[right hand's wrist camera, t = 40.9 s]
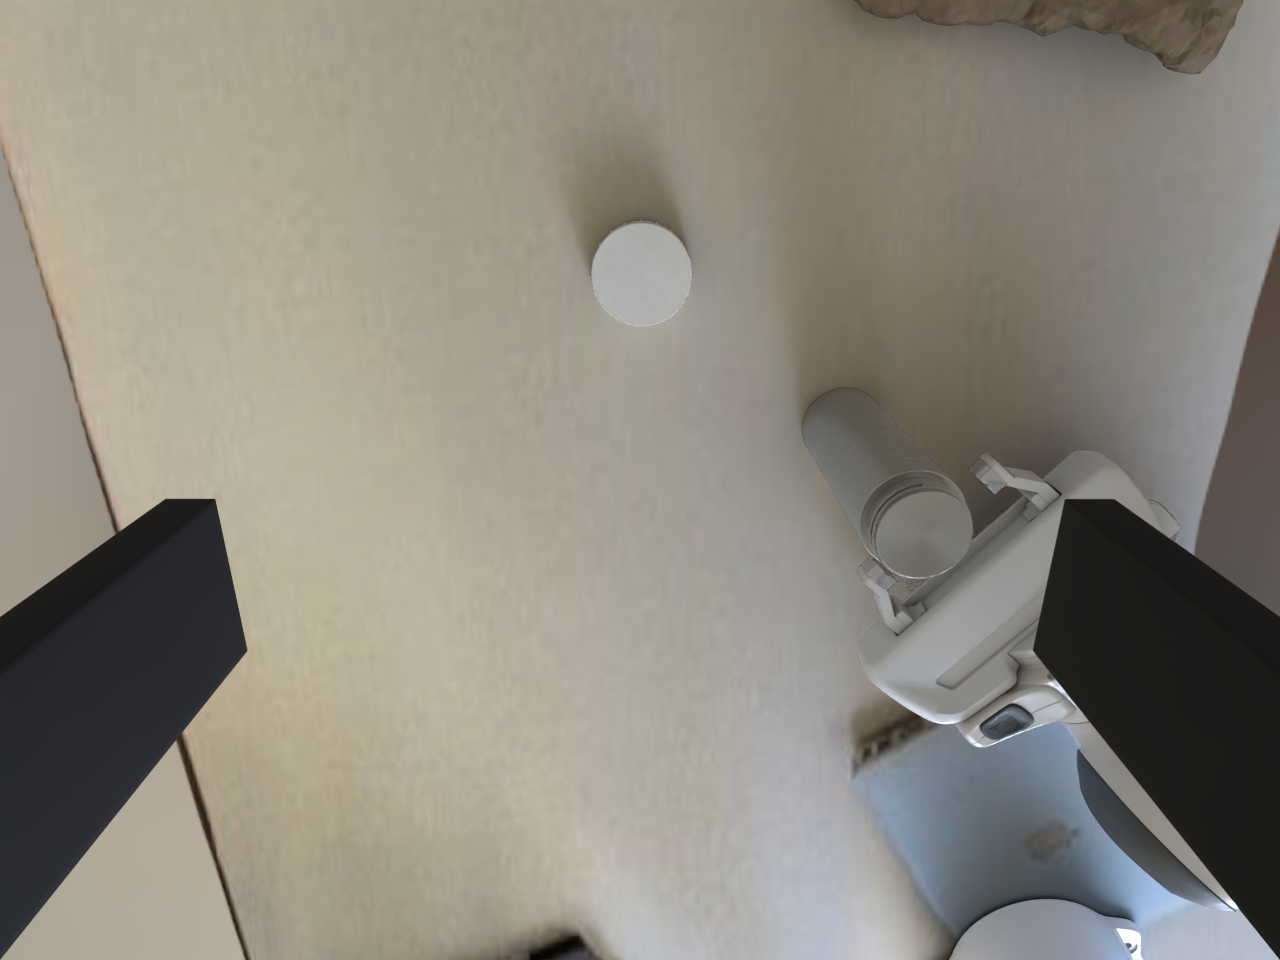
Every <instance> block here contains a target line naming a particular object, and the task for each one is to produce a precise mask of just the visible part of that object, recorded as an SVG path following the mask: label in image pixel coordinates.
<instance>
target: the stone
mask: <svg viewBox="0 0 1280 960" xmlns="http://www.w3.org/2000/svg"><path fill="white" fill-rule="evenodd" d="M854 1H858V3H859V5H860V7H861V8H862V9H863V10H865V11H867V12H869V13H871V14H873V15H875V16H876V17H881V18H896V19H897V18H899V17H902V16H904V15H907V14H911V13H916V14H917V15H918V16H919V17H920V18H921V19H922V20H923V21H927V22H931V23H935V24H938V25H948V26H952V25H960V24H974V25H990V24H993V23H994V22H996V21H1000V22H1002V21H1006V22H1010V23H1013V24H1017V25H1020V26H1021V27H1024V28H1026V29H1029V30H1032V31H1033V32H1035V33H1037V34H1038V35H1040V36H1045V35H1049V34H1052V33H1055V32H1058V31H1060V30H1062V29H1064V28H1066V27H1069V26H1072V25H1075V26H1077V27H1079V28H1082V29H1086V30H1094V31H1097V32H1099V33H1102V34H1108V33H1115V34H1123V36H1124V38H1125V41H1126V42H1127V43H1129V44H1131V45H1133V46H1135V47H1137V48H1139V49H1141V50H1145V51H1149V52H1151V53H1153V54H1155V55H1156V56H1157V58H1158V59H1159V61H1160V62H1162V63H1163V66H1164V67H1166V68H1167V69H1169V70H1172V71H1176V72H1181V73H1187V74H1199V73H1201V72H1202V70H1203V69H1204V68H1205V67H1206V66H1207V65H1208V64H1209V63H1210V62H1211V61H1212V60H1213V59H1214V58H1215V57H1216V56H1217V54H1218V52H1219V51H1220V49H1221V47H1222V45H1223V43H1224V41H1225V38H1226V36H1227V34H1228V32H1229V31H1230V30H1231V28H1232V27H1233V26H1234V24H1235V20H1236V16H1237V12H1238V10H1239V9H1240V7H1241V6H1242V4H1243V0H854Z"/></svg>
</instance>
